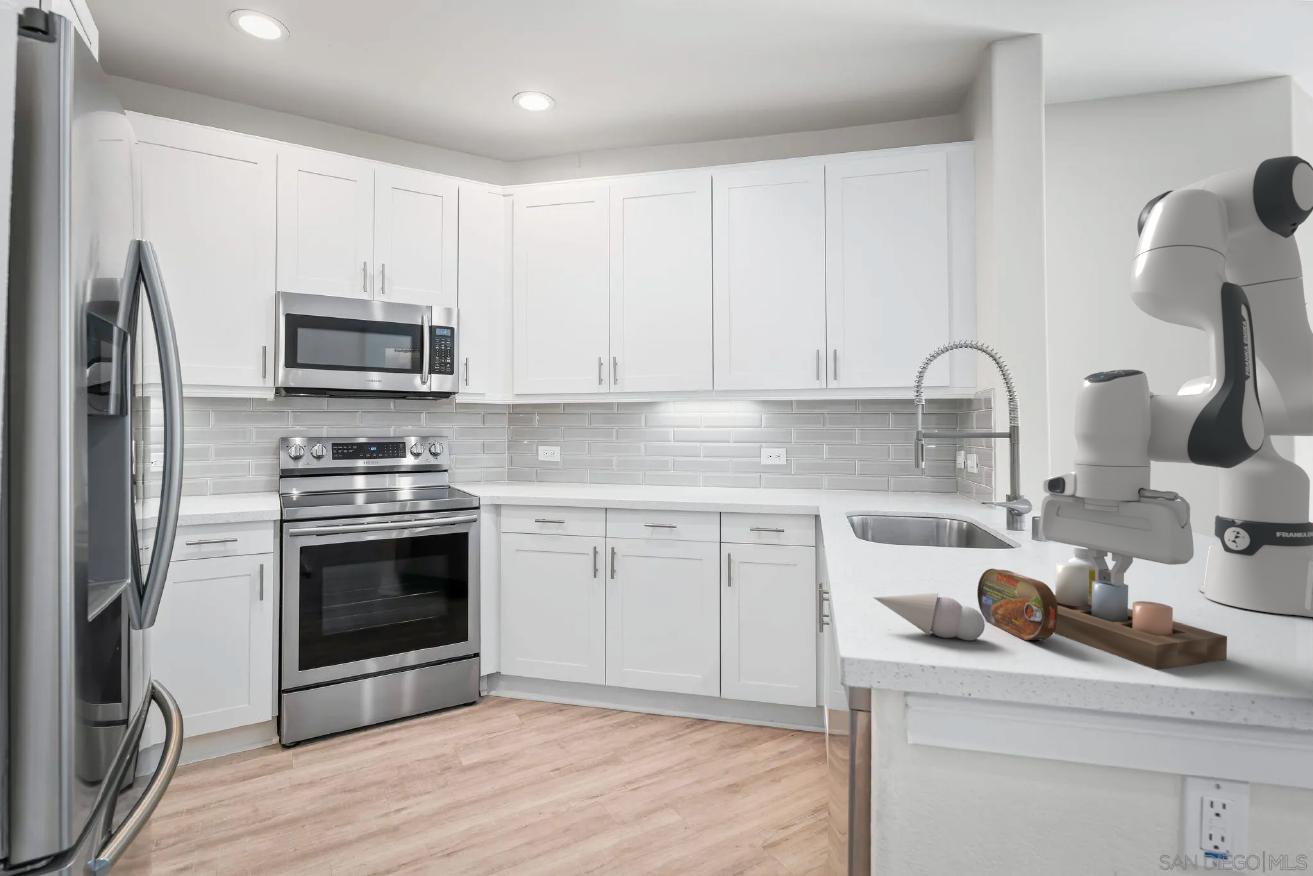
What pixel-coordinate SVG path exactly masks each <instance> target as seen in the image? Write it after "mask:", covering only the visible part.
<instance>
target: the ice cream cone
mask: <svg viewBox="0 0 1313 876" xmlns="http://www.w3.org/2000/svg"><path fill="white" fill-rule="evenodd" d="M873 599H874V600H876V601H877V602H879V603H880V604H882V605H883V606H885V607H886V608H888V609H889V610H891V611H893V612H894V613H895V614H896V615H898V616H900V617H901V618H902V619H904V620H906V621H907V622H908V623H910V624H911V625H913V626H914V627H915V628H918V629H919V630H920V631H922V632H923V633H925V634H926V635H928V636H931V633H932V634H934V635H935V636H938V637H940V638H944V639H952V638H955V637H957V638H959V639H961V640H963V641H973V640H977V639H978V638H979V637H981V636H982V634H983V633H984V631H985V625H986V624H985V618H984V616H983V615H982V613H980V611H978V610H977V609H975V608H973V607H971V606H967V605H964V606H963V605H962V604H961V603H960V602H958V601H957V600H956V599H954V598H952V597H947V596H939V592H933V593H932V592H931V593H919V594H905V595H902V594H901V595H889V596H876V597H875V596H874V597H873Z"/></svg>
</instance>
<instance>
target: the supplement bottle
mask: <svg viewBox="0 0 1313 876" xmlns="http://www.w3.org/2000/svg"><path fill="white" fill-rule="evenodd" d="M1072 548H1073V549H1072V554H1073V556H1074V557H1072V558H1070V559H1069V560H1067V561H1068V562H1067V563H1075V564H1081V565H1086V566H1088V567H1089V597H1090V598H1092V581H1095V569H1094V567H1093V565H1092V563H1091V561H1090V559H1089V558H1088V548H1084V547H1079V546H1074V545H1072Z"/></svg>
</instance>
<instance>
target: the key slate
mask: <svg viewBox="0 0 1313 876" xmlns="http://www.w3.org/2000/svg"><path fill="white" fill-rule="evenodd" d="M1128 608H1129V584H1126V583H1124V584H1123V585H1122V586H1114V585H1110V584H1106V583H1102V582H1098V581H1096V580H1095V581H1092V616H1094V617H1097V618H1100V619H1104V620H1107V621H1110V622H1120V621H1128Z"/></svg>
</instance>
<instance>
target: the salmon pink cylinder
mask: <svg viewBox="0 0 1313 876" xmlns="http://www.w3.org/2000/svg"><path fill="white" fill-rule="evenodd" d="M1132 610H1133V622H1132V628H1133V629H1136V630H1139V631H1142V632H1145V633H1149V634H1152V635H1155V636H1162V635H1170V634H1172V622H1173V621H1174V619H1173V615H1174V613H1173V612H1174V611H1173V610H1174V609H1173V607H1172V606H1170V605H1167V604H1163V603H1160V602H1153V601H1143V600H1141V601H1133V602H1132Z"/></svg>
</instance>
